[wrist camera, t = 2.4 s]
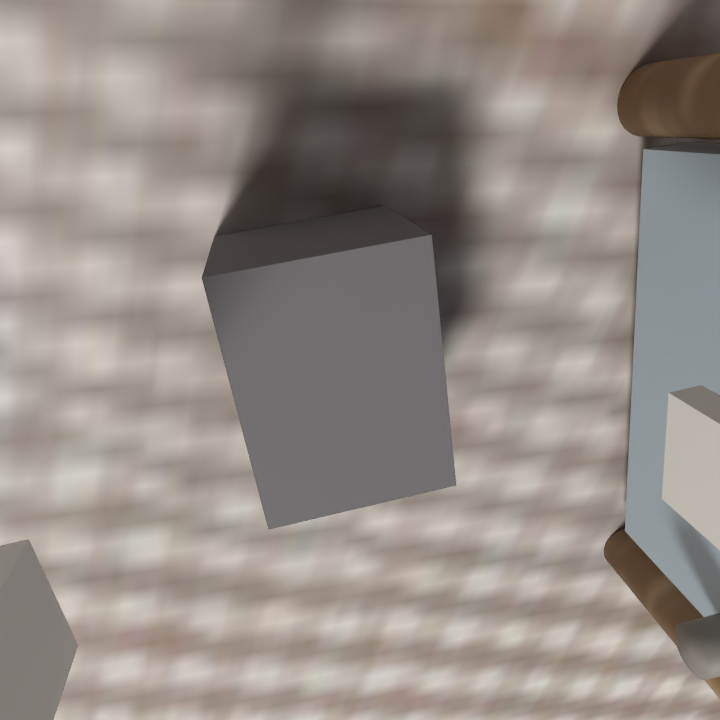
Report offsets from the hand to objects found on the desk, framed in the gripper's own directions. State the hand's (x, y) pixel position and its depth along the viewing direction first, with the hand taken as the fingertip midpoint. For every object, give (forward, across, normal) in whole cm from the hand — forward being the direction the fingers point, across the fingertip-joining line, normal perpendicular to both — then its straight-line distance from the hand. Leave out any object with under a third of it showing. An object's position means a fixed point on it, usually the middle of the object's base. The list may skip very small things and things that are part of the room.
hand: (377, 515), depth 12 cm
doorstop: (+11, 0, 0) cm, 11 cm away
